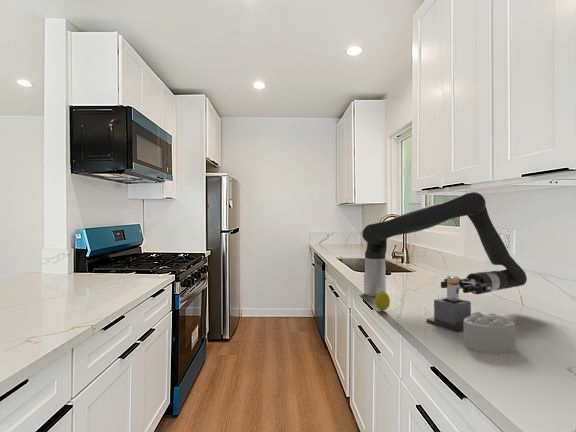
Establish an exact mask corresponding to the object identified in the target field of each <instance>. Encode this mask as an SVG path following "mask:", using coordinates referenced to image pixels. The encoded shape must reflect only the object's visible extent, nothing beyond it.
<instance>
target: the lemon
mask: <svg viewBox="0 0 576 432" xmlns="http://www.w3.org/2000/svg"><path fill="white" fill-rule="evenodd" d="M390 302H391V301H390V297H389V294H388V293H387V292H386V293H385V292H384V291H381V292H379V293H377V295H376V297H375V298H374V304H375V307H376V308H377V309H378V310H380V311H381V312H385V310H387V309H388V308H389V307H390Z"/></svg>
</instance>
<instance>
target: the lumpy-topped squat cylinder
mask: <svg viewBox="0 0 576 432" xmlns="http://www.w3.org/2000/svg"><path fill="white" fill-rule="evenodd" d="M463 346H464V347H465V348H466V349H469V350H471V351H474V352H479V353H485V354H505V353H506V354H507V353H511V352H515V351H516V347H517V346H516V324H515V322H514V321H511V320H509V319H508V318H507V317H505V316H501V315H498V314H496V313H492V312H489V313H487V314H482V313H481V312H480V311H474V312H472V313H471V316H468V317H466V318H465V319H464V331H463Z"/></svg>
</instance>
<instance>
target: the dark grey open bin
mask: <svg viewBox="0 0 576 432" xmlns="http://www.w3.org/2000/svg"><path fill="white" fill-rule="evenodd" d="M471 304H472V302H471V301H468V300H464V299H460V298H459V303H450V302H447V296H446V297H442V298H441V297H440V298H436V299H433V306H434V307H433V311H434V312H433V314H434V315H433V317H430V318H426V323H429V324H432V325H435V326H438V327H441V328H443V329H447V330H450V331H453V332H456V333H460V332H464V319H465V318H466V317H468V316H471V314H472V313H471V312H472V305H471Z"/></svg>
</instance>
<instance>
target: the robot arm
mask: <svg viewBox="0 0 576 432" xmlns="http://www.w3.org/2000/svg"><path fill="white" fill-rule="evenodd" d="M465 216H467V218H469V220H470V221H471V224H473V226H474V229H475V230H476V232H477V235H478V237H479V239H480V243H481V244H482V247H483V249H484V252H485V253H486V255H487V258H488V259H489V262H490V263H491V264H492V265H494V266H503V267H504V268H505V269H502V270H490V271H487V270H486V271H479V272H478V271H477V272H471V273H469V274H467V276H466V277H462V278H459V290H462V293H463V294H467V293H468V294H469V293H471V294H474V295H483V294H488V293H493V292H494V291H499V290H505V289H511V288H516V287H521V286H524V285H525V284H526V283H527V280H528V277H527V274H526V272H525V270H523V268H522V267H521V266H520V264H518V263H517V262H516V260H515V259H514V258H513V257H512V256H511V255H510V253H509V251H508V249H507V247H506V245H505V243H504V241H503V240H502V238H501V236H500V234H499V233H498V231H497V229H496V227H495V226H494V225H493V223H492V220H491V218H490V215H489V213H488V209H487V206H486V199H485V196H483V195H482V194H481V193H479V192H476V191H468V192H465V193H464V194H461V195H458V196H456V197H455V198H451V199H449V200H447V201H444V202H440V203H435V204H432V205H428V206H423V207H420V208H417V209H413V210H411V211H409V212H406V213H403V214H401V215H398V216H396V217H394V218H391V219H389V220H384V221H381V222H377V223H370V224H368V225H365V227H364V228H363V231H362V233H361V234H362V238H363V240H364V241H365V242H366V249H365V252H364V269H365V272H364V274H363V294H365V295H366V296H368V297H376V295H377V293H379V292H381V291H384V292H385V293H387V289H386V287H387V286H386V284H387V283H386V282H387V280H386V279H387V277H386V275H387V273H386V253H387V243H388V239H389V238H392V237H396V236H399V235H406V234H412V233H416V232H417V233H418V232H420V231H423V230H428V229H430V228H433V227H435V226H438V225H440V224H442V223H444V222H447V221H449V220H452V219H455V218H461V217H465ZM440 288H442V289H447V278H444V280H443V281H440Z"/></svg>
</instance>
